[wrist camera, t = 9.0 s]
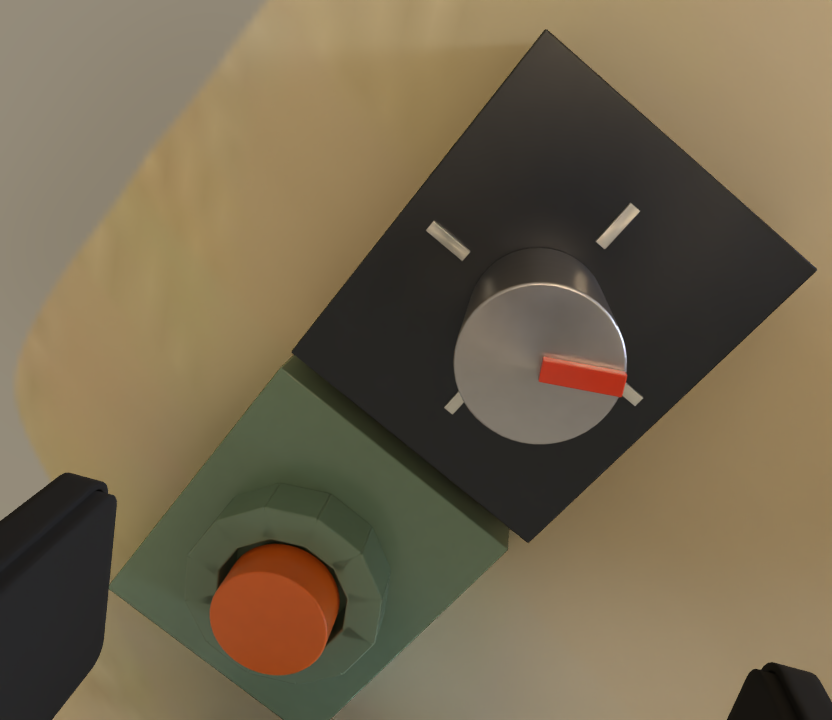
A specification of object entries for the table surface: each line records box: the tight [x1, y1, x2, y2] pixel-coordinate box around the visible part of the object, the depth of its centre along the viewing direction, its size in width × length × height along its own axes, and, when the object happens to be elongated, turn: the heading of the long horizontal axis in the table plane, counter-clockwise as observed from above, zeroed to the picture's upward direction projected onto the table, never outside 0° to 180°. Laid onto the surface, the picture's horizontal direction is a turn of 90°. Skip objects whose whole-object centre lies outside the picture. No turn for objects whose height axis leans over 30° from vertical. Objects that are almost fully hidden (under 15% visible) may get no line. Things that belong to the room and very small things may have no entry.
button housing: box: [109, 355, 509, 720], centre depth 27 cm, size 12×10×4 cm
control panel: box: [292, 30, 817, 543], centre depth 23 cm, size 12×10×3 cm
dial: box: [453, 248, 627, 444], centre depth 19 cm, size 4×4×5 cm
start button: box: [210, 544, 340, 675], centre depth 25 cm, size 4×4×2 cm
